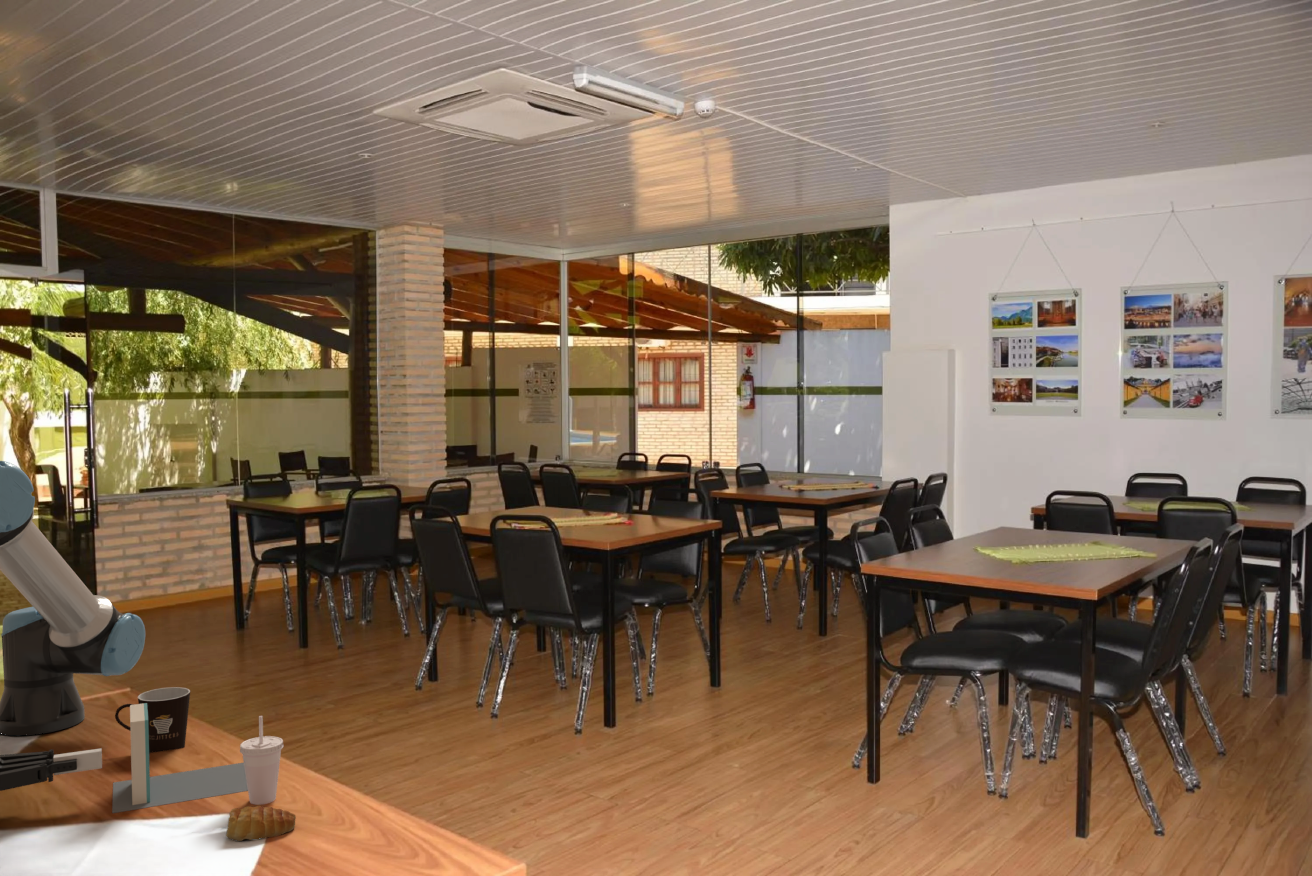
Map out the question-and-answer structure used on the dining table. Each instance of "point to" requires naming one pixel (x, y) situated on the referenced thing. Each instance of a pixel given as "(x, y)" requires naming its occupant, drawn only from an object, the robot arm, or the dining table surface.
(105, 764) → the dining table surface
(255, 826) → the pastry
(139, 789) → the tile
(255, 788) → the smoothie
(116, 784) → the mat
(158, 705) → the coffee mug
